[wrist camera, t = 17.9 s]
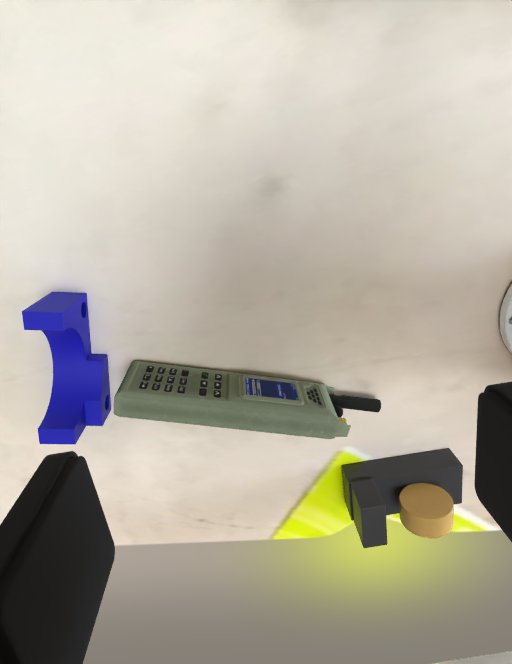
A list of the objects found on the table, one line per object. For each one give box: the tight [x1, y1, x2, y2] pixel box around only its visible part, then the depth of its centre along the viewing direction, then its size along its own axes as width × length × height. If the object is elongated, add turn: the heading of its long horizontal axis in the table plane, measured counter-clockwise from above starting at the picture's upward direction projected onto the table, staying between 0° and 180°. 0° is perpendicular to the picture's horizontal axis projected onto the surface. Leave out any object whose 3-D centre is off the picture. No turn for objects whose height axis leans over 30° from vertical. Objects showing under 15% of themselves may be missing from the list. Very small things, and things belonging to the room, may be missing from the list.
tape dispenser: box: [342, 448, 463, 548], centre depth 44 cm, size 12×5×8 cm, turn 98°
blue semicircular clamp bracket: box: [22, 292, 111, 444], centre depth 38 cm, size 12×4×6 cm, turn 177°
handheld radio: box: [114, 361, 381, 439], centre depth 40 cm, size 7×3×25 cm
